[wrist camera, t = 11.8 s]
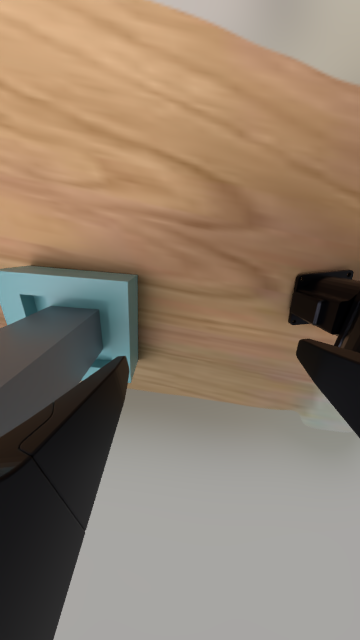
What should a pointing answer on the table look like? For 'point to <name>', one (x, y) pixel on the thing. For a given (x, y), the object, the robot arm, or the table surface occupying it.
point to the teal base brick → (78, 303)
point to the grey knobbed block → (44, 359)
